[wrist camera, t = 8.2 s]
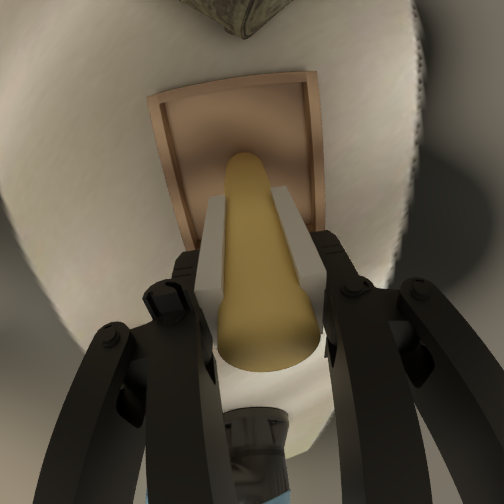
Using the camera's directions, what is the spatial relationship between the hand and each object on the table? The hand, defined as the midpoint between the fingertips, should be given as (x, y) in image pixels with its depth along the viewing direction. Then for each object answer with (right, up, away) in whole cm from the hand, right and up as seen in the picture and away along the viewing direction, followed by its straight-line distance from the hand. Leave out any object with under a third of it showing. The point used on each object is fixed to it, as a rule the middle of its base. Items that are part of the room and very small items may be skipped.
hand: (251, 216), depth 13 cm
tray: (-1, +6, +8) cm, 10 cm away
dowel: (-1, +4, +6) cm, 7 cm away
